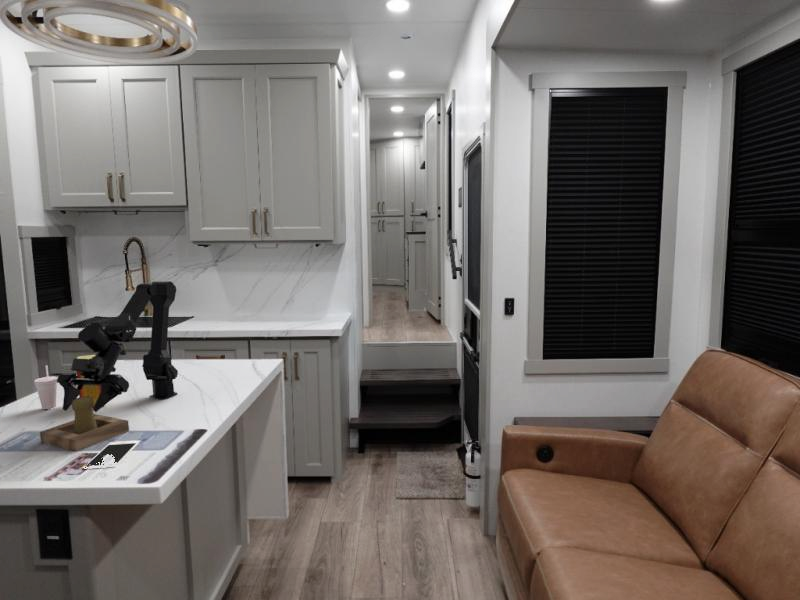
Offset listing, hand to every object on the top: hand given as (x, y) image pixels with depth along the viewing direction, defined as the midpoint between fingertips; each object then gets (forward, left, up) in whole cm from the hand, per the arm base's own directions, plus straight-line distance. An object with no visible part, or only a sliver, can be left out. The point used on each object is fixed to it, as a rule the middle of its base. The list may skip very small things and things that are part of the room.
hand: (79, 410), depth 139 cm
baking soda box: (-25, +20, -8) cm, 34 cm away
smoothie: (-35, +12, -8) cm, 38 cm away
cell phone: (+18, -4, -8) cm, 20 cm away
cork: (0, +1, -8) cm, 8 cm away
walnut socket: (0, +1, -8) cm, 8 cm away
